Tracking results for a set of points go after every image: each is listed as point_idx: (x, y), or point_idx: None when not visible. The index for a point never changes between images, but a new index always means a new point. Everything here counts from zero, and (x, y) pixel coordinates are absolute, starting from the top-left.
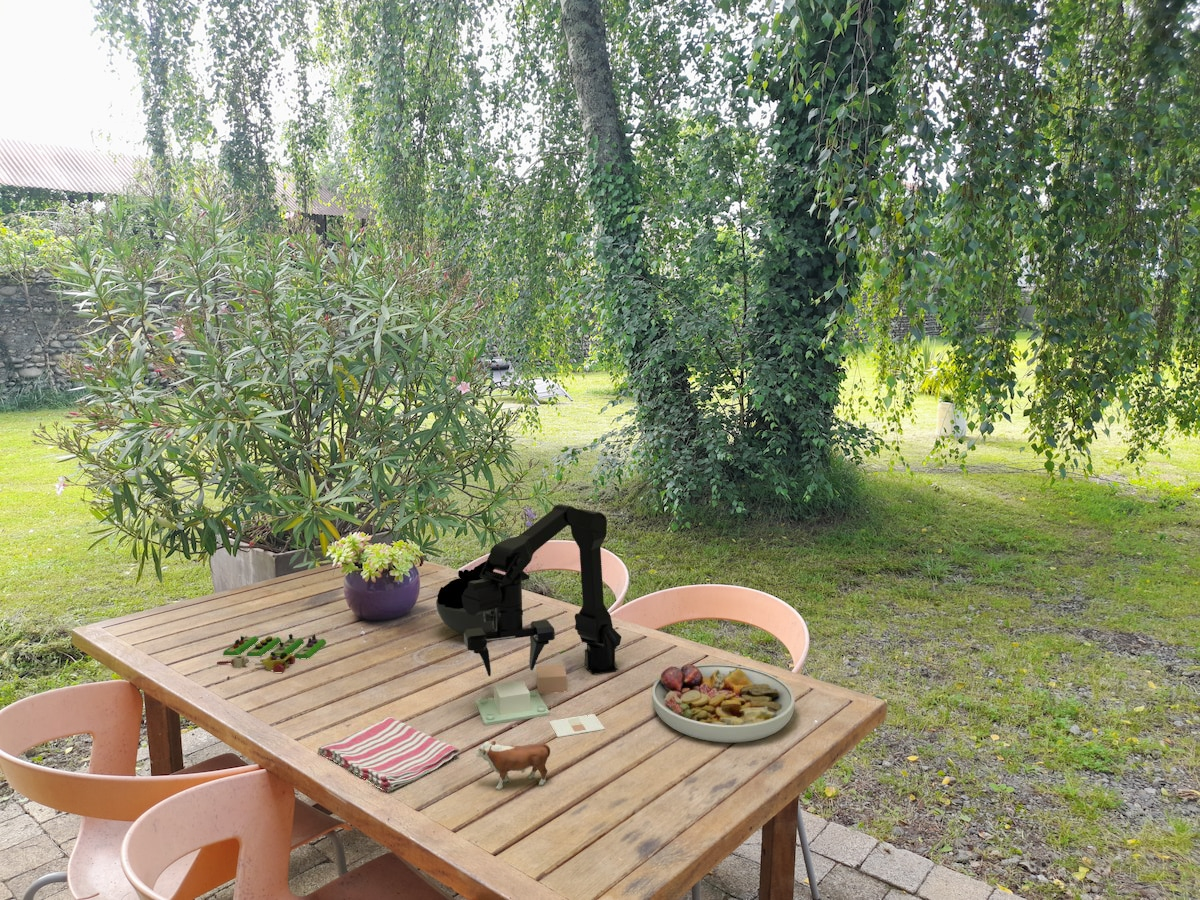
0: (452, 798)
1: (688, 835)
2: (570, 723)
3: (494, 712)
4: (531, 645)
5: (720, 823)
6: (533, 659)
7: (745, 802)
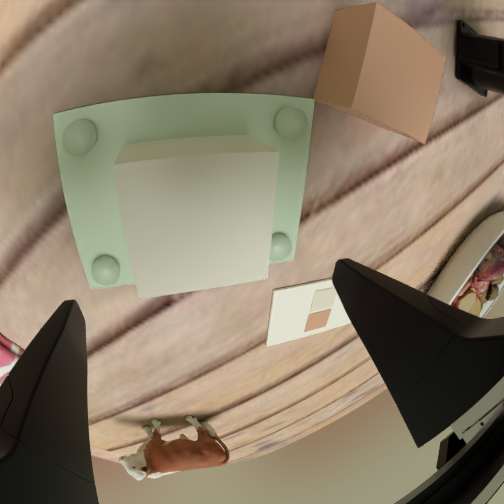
0: (90, 430)
1: (299, 434)
2: (312, 307)
3: (118, 230)
4: (443, 361)
5: (327, 423)
6: (372, 351)
7: (358, 404)
